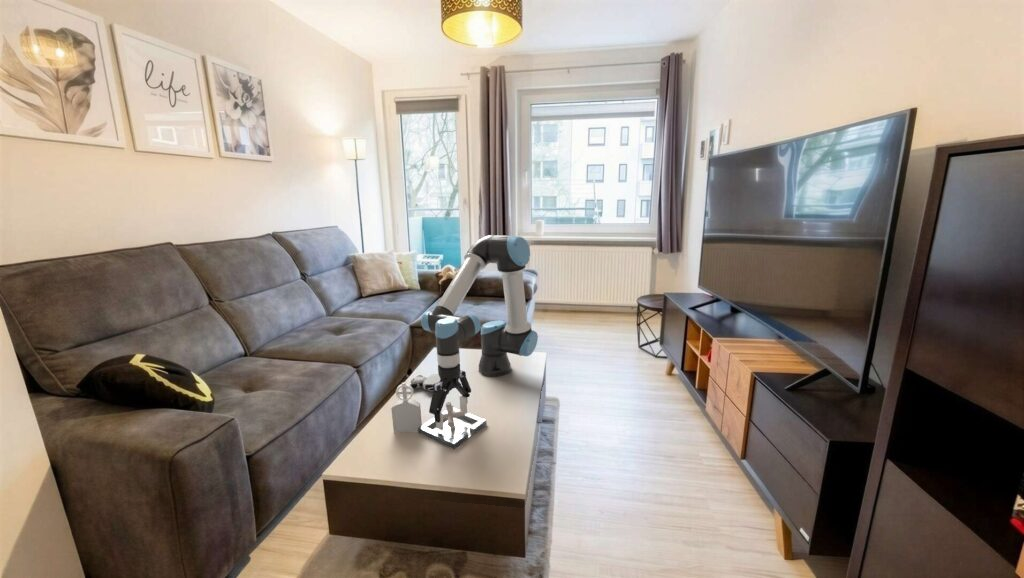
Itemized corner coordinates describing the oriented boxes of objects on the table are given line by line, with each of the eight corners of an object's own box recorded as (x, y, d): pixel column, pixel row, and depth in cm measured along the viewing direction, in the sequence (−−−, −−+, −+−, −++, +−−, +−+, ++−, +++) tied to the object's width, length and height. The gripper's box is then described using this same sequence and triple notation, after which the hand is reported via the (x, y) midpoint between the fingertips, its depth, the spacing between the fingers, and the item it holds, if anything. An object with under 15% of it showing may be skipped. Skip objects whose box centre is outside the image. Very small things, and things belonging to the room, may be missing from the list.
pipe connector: (439, 421, 149) (434, 397, 146) (466, 417, 149) (462, 393, 146) (437, 439, 139) (432, 414, 136) (466, 434, 140) (462, 409, 137)
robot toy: (405, 394, 171) (438, 395, 168) (403, 384, 170) (437, 385, 167) (417, 381, 183) (449, 381, 180) (416, 372, 182) (447, 372, 179)
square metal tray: (451, 411, 156) (451, 406, 155) (486, 424, 146) (486, 419, 146) (418, 432, 142) (417, 427, 142) (454, 449, 133) (453, 444, 132)
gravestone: (395, 427, 146) (391, 381, 141) (421, 426, 146) (418, 380, 142) (393, 432, 143) (389, 385, 139) (420, 431, 143) (416, 384, 139)
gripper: (463, 350, 150) (466, 403, 155) (414, 374, 131) (419, 433, 136) (479, 354, 146) (481, 408, 151) (431, 379, 127) (435, 441, 132)
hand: (452, 420), depth 144 cm, fingers open, 11 cm apart
